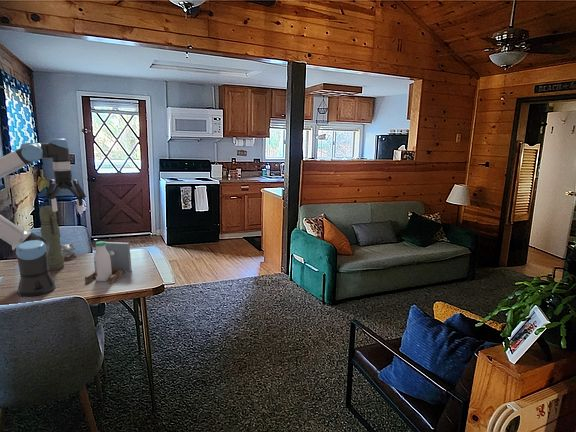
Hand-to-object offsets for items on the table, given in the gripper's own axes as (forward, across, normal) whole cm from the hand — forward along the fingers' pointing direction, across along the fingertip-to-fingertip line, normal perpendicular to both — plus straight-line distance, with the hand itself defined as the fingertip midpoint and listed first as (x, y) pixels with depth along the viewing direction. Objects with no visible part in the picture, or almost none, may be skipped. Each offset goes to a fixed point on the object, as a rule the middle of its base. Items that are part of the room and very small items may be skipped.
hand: (67, 211), depth 195 cm
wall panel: (+35, -18, -8) cm, 40 cm away
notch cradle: (+35, -18, +3) cm, 39 cm away
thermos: (+35, +19, -10) cm, 41 cm away
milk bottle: (+35, -18, +3) cm, 39 cm away
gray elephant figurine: (+35, +25, -29) cm, 52 cm away
